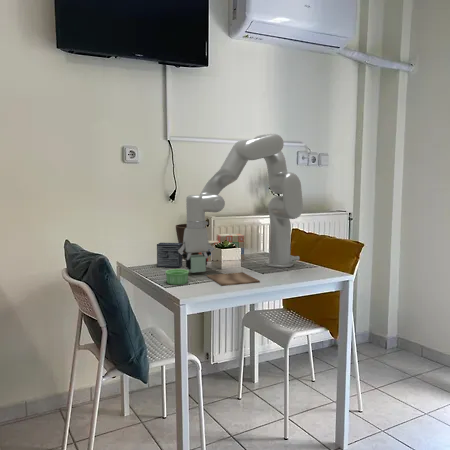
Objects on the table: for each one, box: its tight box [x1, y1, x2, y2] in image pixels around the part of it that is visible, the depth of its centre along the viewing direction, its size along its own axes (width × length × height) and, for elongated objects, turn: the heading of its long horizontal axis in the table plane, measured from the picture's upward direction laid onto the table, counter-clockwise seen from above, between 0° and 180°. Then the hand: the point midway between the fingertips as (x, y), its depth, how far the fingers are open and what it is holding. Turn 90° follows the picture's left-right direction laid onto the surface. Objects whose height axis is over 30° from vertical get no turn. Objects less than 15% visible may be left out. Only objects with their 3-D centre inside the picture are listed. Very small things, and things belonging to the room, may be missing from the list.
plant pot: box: [175, 223, 207, 259], centre depth 223 cm, size 15×15×16 cm
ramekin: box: [165, 268, 190, 286], centre depth 175 cm, size 9×9×4 cm
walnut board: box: [206, 271, 261, 287], centre depth 180 cm, size 16×16×1 cm
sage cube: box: [186, 254, 207, 274], centre depth 189 cm, size 6×6×6 cm
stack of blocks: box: [198, 233, 245, 263], centre depth 219 cm, size 21×6×12 cm, turn 107°
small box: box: [156, 242, 183, 269], centre depth 203 cm, size 11×6×10 cm, turn 84°
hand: (196, 267), depth 189 cm, fingers closed on sage cube, 6 cm apart
